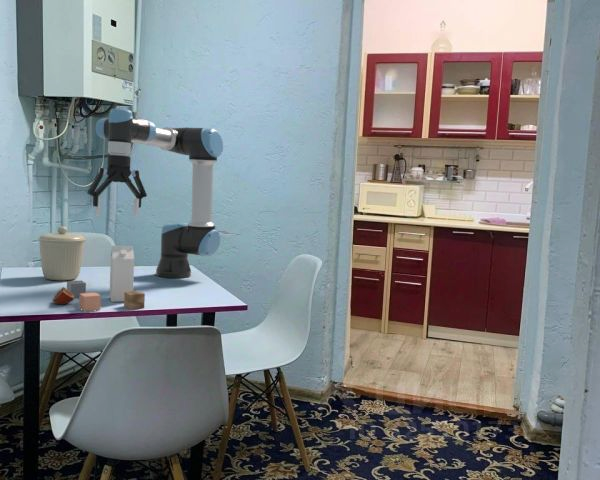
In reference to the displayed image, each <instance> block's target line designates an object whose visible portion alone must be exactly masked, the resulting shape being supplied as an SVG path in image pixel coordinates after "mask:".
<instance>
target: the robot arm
mask: <svg viewBox="0 0 600 480" xmlns="http://www.w3.org/2000/svg"><path fill="white" fill-rule="evenodd" d="M95 132H96V135H97V136H98V137H99V138H100V139H104V140H107V153H108V155H107V167H106V168H103V167H98V168H97V174H96V176H95V177H94V179H93V180H92V183H91V185H90V186H89V188H88V190H87V195H89V196H91V197H92V206H93V207H95V208H94V209H95V211H94V217H98V218H100V217H101V207H102V206H101V205H102V199H101V197H100V195H101V194H102V193H103V192H104V191H105V189H107V188H108V186H109V185H110V184H111V183H124V184H125V185H126V186H127V188H129V190H130V191H131V193H132V194H133V195H134V196H135V197H134V198H133V209H132V210H133V211H132V212H133V213H132V218H133V217H134V218H139V209H140V208H141V207H142V199H143V198H146V197H147V196H148V195H147V192H146V190H145V188H144V187H145V186H144V185H143V182H142V180H141V178H140V171H139V170H135V169H134V170H131V162H132V161H131V156H130V155H131V154H132V143H133V144H141V145H145V146H152V147H158V148H160V149H161V150H163V151H168V152H171V153H175V154H179V155H183V156H188V160H189V161H190V163H191V164H192V174H191V175H192V178H191V179H192V183H191V185H192V186H191V221H189V222H188V223H187V222H186V223H185V222H184V223H169V224H164V225H162V230H161V234H160V235H161V238H160V239H161V240H160V241H161V245H160V259H159V261H158V264H157V267H156V269H155V276H156V277H161V278H169V279H184V277H185V278H188V277H189V276H190V277H191V276H192V275H191V274H192V271H191V267H190V263H189V259H188V257H189V256H188V255H196V256H200V257H212V256H213V255H214V254H215V253H216V252H217V251H218V249H219V248H220V244H221V234H220V232H219V231H218V230H217V229H216V224H215V223H214V222H213V190H214V189H213V184H214V183H213V182H214V165H215V164H216V162H218V157H220V156H221V155H222V154H223V149H224V142H223V138H222V135H221V134H220V132H219V131H218V130H216V129H214V128H211V127H210V128H209V127H168V126H167V127H162V128H161V127H156V125H155V122H153V121H150V120H147V119H142V118H135V117H134V115H133V112H132V111H131V109H130V110H129V109H126V108H125V109H123V108H111V109H110V110H109V117H105V118H100V119H99V120H97V122H96V123H95ZM105 174H106V175H107V177H106V178H105V179H104V181H103V182H102V183H101V184H100V182H101V180H102V179H103V176H105ZM130 176H131V177H133V180H134V183H132V180H131V179H130ZM134 184H135V185H136V186H135V185H134ZM136 187H137V188H136ZM190 277H189V278H190Z"/></svg>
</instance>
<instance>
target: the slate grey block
mask: <svg viewBox="0 0 600 480" xmlns="http://www.w3.org/2000/svg"><path fill="white" fill-rule="evenodd" d="M66 290H68V291H69V292H70V293H72V294H73V295H74V297H76V298H80V293H87V292H86V291H87V283H86V282H85V281H83V279H82V280H66Z"/></svg>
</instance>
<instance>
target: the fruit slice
mask: <svg viewBox="0 0 600 480" xmlns="http://www.w3.org/2000/svg"><path fill="white" fill-rule="evenodd" d="M74 299H76V298H75V297H74V295H73V294H72V293H70V292H69V291H68V290H67V288H66V287H64V286H63V287H61V288H60V289H59V290H58V291H57V292H56V294H55V295H54V297H53V298H52V302H53V303H55V304H58V305H66V304H68V303H70V302H72V301H73V300H74Z"/></svg>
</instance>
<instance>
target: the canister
mask: <svg viewBox="0 0 600 480" xmlns="http://www.w3.org/2000/svg"><path fill="white" fill-rule="evenodd" d="M36 238H37V240H38V243H39V254H40V263H41V270H42V275H43V277H44V278H45V279H47V280H49V281H64V282H65V281H74V280H75V279H77V278H78V277H79V275H80V273H81V269H82V262H83V255H84V254H83V253H84V248H85V242H86V241H87V238H86V237H84V236H83V235H81V234H78V233H72V232H71V233H69V232H68V228H67V227H66V226H63V225H61V226H59V227H58V228H57V232H49V233H48V232H47V233H43V234H41V235H40V236H38V237H36Z"/></svg>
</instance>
